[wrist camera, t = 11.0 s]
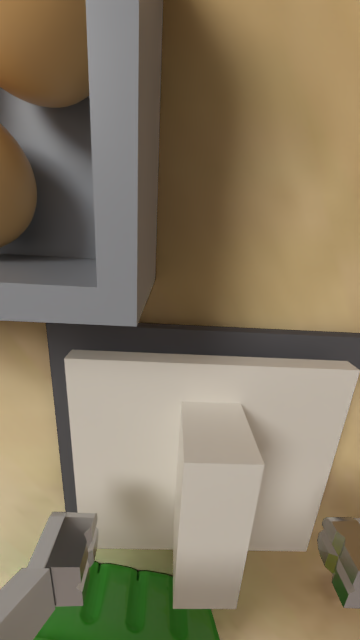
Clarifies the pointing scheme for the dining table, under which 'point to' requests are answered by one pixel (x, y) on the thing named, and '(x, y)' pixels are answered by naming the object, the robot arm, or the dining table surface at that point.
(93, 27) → the crate
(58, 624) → the fruit basket
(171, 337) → the mat
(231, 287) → the dining table surface
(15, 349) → the dining table surface
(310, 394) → the lid
